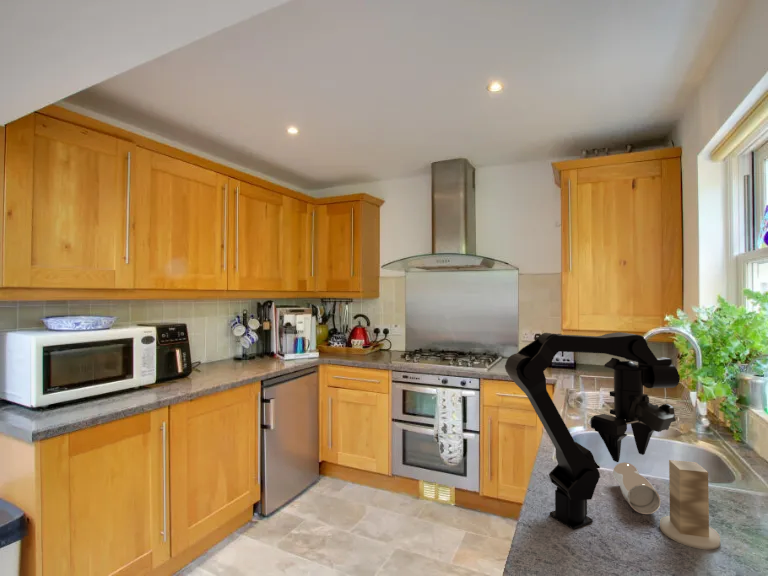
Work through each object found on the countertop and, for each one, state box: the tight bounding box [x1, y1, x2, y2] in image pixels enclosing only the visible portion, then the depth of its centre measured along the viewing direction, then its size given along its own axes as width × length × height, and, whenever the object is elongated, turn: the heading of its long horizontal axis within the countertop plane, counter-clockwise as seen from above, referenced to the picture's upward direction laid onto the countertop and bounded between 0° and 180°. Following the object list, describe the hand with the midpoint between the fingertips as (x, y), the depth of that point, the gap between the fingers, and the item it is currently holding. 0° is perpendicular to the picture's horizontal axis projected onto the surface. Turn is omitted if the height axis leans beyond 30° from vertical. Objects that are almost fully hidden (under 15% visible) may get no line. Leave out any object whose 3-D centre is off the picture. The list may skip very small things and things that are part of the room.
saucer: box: [659, 515, 721, 551], centre depth 84 cm, size 10×10×1 cm
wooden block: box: [668, 459, 710, 537], centre depth 84 cm, size 5×5×13 cm
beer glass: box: [612, 462, 662, 516], centre depth 99 cm, size 7×7×15 cm
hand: (629, 457), depth 92 cm, fingers open, 9 cm apart
